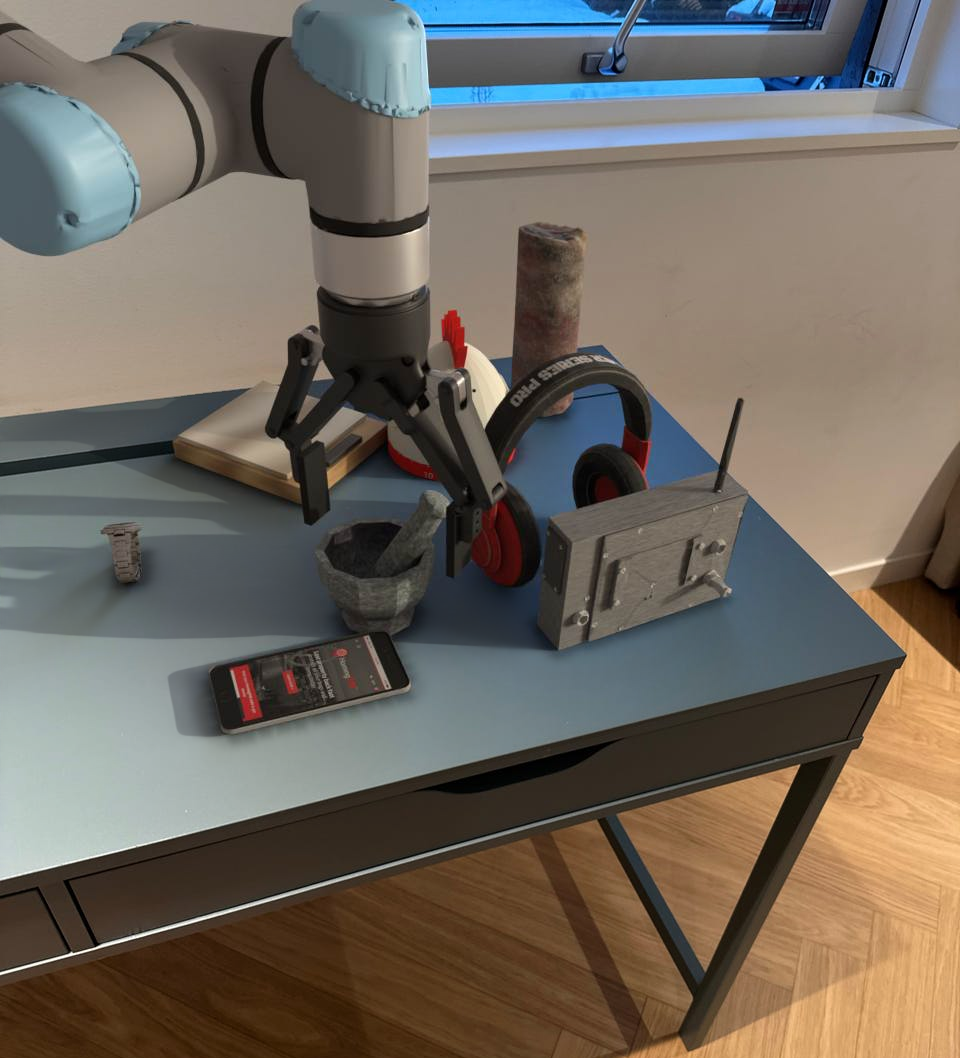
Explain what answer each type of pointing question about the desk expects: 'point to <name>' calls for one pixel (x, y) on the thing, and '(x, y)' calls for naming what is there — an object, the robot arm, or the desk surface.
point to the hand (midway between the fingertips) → (385, 542)
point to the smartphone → (306, 681)
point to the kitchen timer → (442, 358)
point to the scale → (274, 442)
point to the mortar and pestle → (381, 566)
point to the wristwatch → (125, 550)
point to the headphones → (598, 474)
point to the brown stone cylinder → (547, 298)
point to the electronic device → (640, 554)
